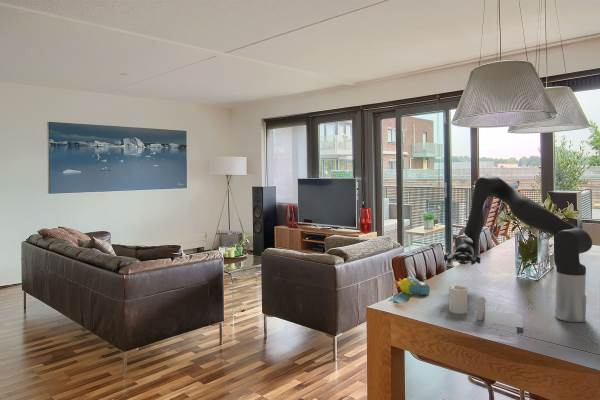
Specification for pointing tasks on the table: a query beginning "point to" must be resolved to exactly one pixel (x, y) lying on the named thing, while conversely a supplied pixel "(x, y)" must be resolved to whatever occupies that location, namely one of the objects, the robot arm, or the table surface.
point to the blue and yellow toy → (410, 289)
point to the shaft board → (485, 316)
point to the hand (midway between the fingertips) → (460, 261)
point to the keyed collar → (458, 299)
